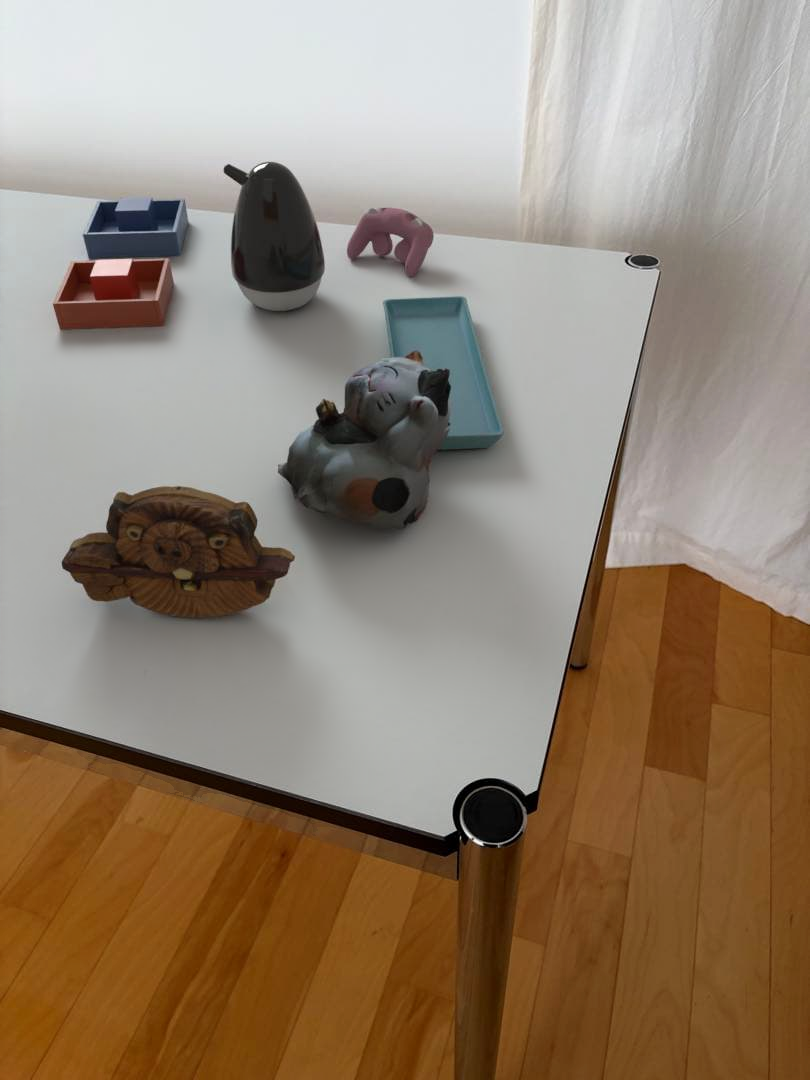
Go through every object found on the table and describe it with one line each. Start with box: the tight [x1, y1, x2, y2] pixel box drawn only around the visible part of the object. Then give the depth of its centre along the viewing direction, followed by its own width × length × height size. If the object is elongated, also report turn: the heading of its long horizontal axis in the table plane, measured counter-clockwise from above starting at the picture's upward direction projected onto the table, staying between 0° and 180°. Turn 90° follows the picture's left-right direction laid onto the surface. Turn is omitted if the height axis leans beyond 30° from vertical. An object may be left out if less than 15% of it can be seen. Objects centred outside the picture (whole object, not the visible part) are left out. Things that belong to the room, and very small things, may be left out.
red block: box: [90, 258, 140, 301], centre depth 99 cm, size 4×4×4 cm
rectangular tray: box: [382, 295, 505, 451], centre depth 89 cm, size 26×9×2 cm, turn 5°
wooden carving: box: [61, 485, 296, 619], centre depth 64 cm, size 16×5×10 cm, turn 90°
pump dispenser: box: [223, 161, 326, 312], centre depth 96 cm, size 10×10×15 cm
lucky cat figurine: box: [277, 350, 451, 530], centre depth 73 cm, size 15×12×14 cm
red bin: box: [52, 258, 174, 330], centre depth 99 cm, size 11×10×3 cm
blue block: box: [115, 196, 158, 232], centre depth 111 cm, size 4×4×4 cm
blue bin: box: [82, 198, 189, 259], centre depth 112 cm, size 11×10×3 cm
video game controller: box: [346, 207, 435, 277], centre depth 107 cm, size 10×5×7 cm, turn 58°
